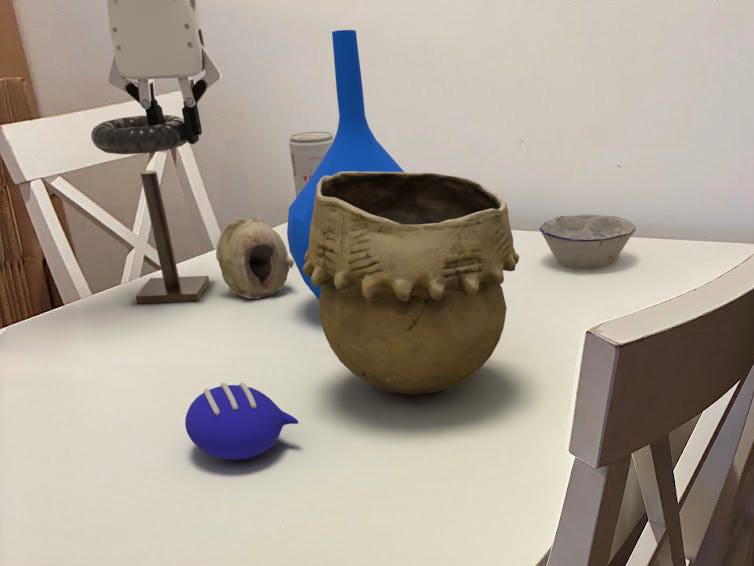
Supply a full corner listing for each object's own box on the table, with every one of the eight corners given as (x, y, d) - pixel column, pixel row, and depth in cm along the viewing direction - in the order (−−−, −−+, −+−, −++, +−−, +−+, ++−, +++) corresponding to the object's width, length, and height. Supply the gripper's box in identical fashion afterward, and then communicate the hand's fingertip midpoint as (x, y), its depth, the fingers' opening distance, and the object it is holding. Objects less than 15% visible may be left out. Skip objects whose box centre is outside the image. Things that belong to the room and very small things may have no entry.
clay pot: (519, 347, 111) (517, 154, 99) (521, 427, 94) (519, 204, 82) (335, 352, 112) (312, 160, 100) (304, 432, 95) (272, 212, 83)
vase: (441, 328, 117) (424, 36, 100) (288, 333, 118) (244, 43, 100) (444, 281, 132) (430, 20, 115) (308, 286, 132) (273, 26, 115)
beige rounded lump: (230, 313, 132) (190, 241, 127) (268, 285, 137) (231, 214, 132) (276, 301, 126) (236, 225, 121) (315, 272, 131) (278, 198, 126)
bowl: (522, 266, 136) (522, 229, 133) (568, 244, 145) (568, 209, 142) (605, 279, 130) (607, 241, 127) (648, 255, 139) (651, 218, 136)
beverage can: (304, 240, 152) (290, 132, 143) (347, 238, 152) (335, 130, 143) (301, 252, 146) (286, 140, 138) (345, 249, 147) (333, 138, 138)
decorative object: (288, 393, 85) (174, 423, 85) (307, 454, 89) (197, 483, 88) (280, 356, 94) (177, 383, 93) (298, 413, 97) (198, 439, 96)
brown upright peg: (136, 304, 129) (107, 180, 120) (151, 285, 136) (125, 166, 127) (197, 301, 129) (172, 177, 120) (209, 283, 135) (187, 164, 127)
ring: (83, 158, 117) (77, 132, 115) (111, 140, 126) (105, 115, 125) (181, 153, 117) (176, 127, 115) (201, 135, 126) (196, 111, 125)
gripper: (222, -42, 114) (249, 134, 125) (80, -36, 114) (120, 140, 125) (209, -40, 108) (239, 145, 118) (59, -33, 108) (103, 151, 119)
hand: (178, 141), depth 121 cm, fingers closed on ring, 3 cm apart
